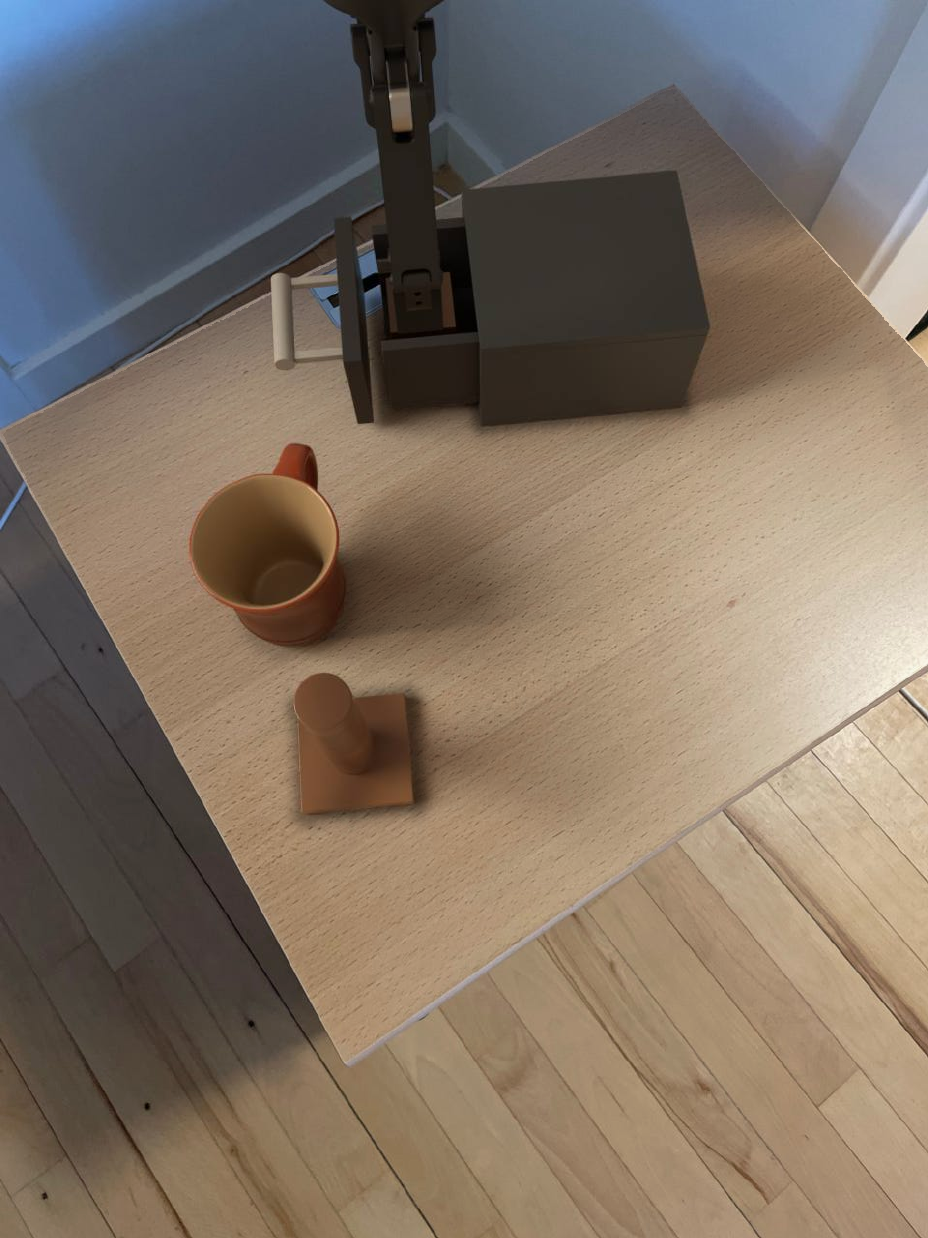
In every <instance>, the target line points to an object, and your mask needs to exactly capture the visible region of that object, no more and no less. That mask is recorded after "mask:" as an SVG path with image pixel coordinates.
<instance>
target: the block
mask: <svg viewBox="0 0 928 1238" xmlns="http://www.w3.org/2000/svg"><path fill="white" fill-rule="evenodd" d="M385 281H386V293H387V304H388V316H389V328H390V336H391V340H396V339H407V338H417V337H428V336H439V335H449V334H457V327H456V318H455V309H454V300H453V291H452V282H451V273H450V272H443V281H442V286H441V294H442V313H443V330H435V331H424V332H413V333H402V334H398V330H397V322H396V314H395V306H394V299H393V291H392V286H391V285H390V277H388V278H385Z"/></svg>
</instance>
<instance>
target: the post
mask: <svg viewBox="0 0 928 1238" xmlns="http://www.w3.org/2000/svg"><path fill="white" fill-rule="evenodd" d="M292 706H293V710H294V714H295V716H296V719H297V721H296V722H297V723H296V724H297V742H298V745H297V746H298V764H299V765H298V767H299V791H300V812H301V814H303V815H313V814H323V813H334V812H343V811H353V810H362V809H373V808H374V809H375V808H382V807H383V808H384V807H392V806H402V805H413V804H415V797H414V785H413V773H412V759H411V758H412V757H411V748H410V747H411V746H410V736H409V735H410V734H409V723H408V710H407V709H408V708H407V699H406V694H405V692H400V693H392V694H391V693H390V694H380V695H371V696H362V697H361V696H360V697H354V695H353V693H352V691H351V689H350V687H349V685H348V684H347V682H345V680H344V679H343V678H342V677H340V676H338V675H337V674H333V673H330V672H319V673H315V674H312V675H310V676H308V677H306V678H305V679H303V680H302V681H301V682H300V684H299V685H298V687H297V688H296V689H295V691H294V695H293V700H292Z"/></svg>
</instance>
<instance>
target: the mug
mask: <svg viewBox="0 0 928 1238" xmlns="http://www.w3.org/2000/svg"><path fill="white" fill-rule="evenodd" d="M318 467H319V466H318V461H317V457H316V453H315V451H314V449H313V448H312V447H311V446H310V445H309V444H305V443H299V442H290V443H288V444H287V445H285V446H284V448H283V450H282V452H281V454H280V456H279V460H278V462H277V465H276V466H275V468H274V469H273V470H272V472H271V473H255V474H251V475H248V476H245V477H243V478H239V479H237V480H235V481H233V482H231V483H229V484H227V485H226V486H224V487H222V488H221V489H220V490H219V491H217V492H216V493H215V494H213V495H212V496H211V498H210V499H208V500H207V502H206V503H205V504H204V505H203V506H202V508H201V509H200V511H199V513H198V514H197V516H196V518H195V520H194V523H193V525H192V528H191V531H190V536H189V537H190V538H189V542H188V543H189V545H188V548H189V549H188V551H189V552H188V553H189V558H190V559H189V560H190V564H191V569H192V570H193V573H194V575H195V577H196V579H197V581H198V583H199V584H200V586H201V587H202V588H203V589H204V590H205V592H206V593H208V594H209V595H210V596H211V597H212V598H213V599H215V600H216V601H217V602H219V603H221V604H222V605H225V606H226V607H228V608H231V609H232V610H233V611H234V612H235V614H236V616H237V618H238V620H239V621H240V623H241V624H242V625H243V626H244V628H245V629H247V630H248V631H249V632H250V633H251V634H253V635H254V636H255V637H257V638H259V639H260V640H262V641H264V642H266V643H269V644H271V645H275V646H278V647H283V648H296V647H297V648H298V647H303V646H307V645H310V644H313V643H315V642H317V641H319V640H320V639H322V638H324V637H325V636H326V635H327V634H328V633H329V632H331V630H332V629H333V628H334V627H335V626H336V624H337V623H338V621H339V620H340V618H341V615H342V613H343V610H344V607H345V601H346V594H347V581H346V580H347V579H346V575H345V571H344V568H343V567H342V564H341V562H340V560H339V557H338V554H339V549H340V530H339V529H340V528H339V524H338V520H337V517H336V514H335V512H334V510H333V508H332V507H331V505H330V504H329V502H328V501H327V500H326V498H325V497H324V496H323V495H322V493H320V491H319V468H318Z"/></svg>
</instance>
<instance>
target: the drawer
mask: <svg viewBox="0 0 928 1238" xmlns="http://www.w3.org/2000/svg"><path fill="white" fill-rule="evenodd" d="M436 225H437V239H438V248H439V251H440V269H441V271H443V272H450V273H451V282H452V291H453V300H454V309H455V318H456V327H457V334H449V335H439V336H428V337H417V338H407V339H396V340H391V336H390V328H389V316H388V304H387V293H386V281H385V278H388V277H390V276H391V275H390V272H388V273H378V272H377V276H378V283H379V289H380V295H381V309H382V321H383V332H384V333H383V334H384V340H381V341H380V348H381V349H380V350H381V355H382V362H383V368H384V374H385V380H386V386H387V392H388V399H389V404H390V410H391V411H398V410H399V411H400V410H409V409H419V408H430V407H439V406H452V405H461V404H462V405H463V404H473V403H478V402H480V345H479V337H478V328H477V320H476V312H475V303H474V295H473V287H472V279H471V270H470V262H469V254H468V245H467V237H466V229H465V220H464V217H462V216H461V217H450V218H440V219H436ZM370 228H371V237H372V243H373V250H374V256H375V263H376V265H377V259H385V258H388V249H389V242H388V233H387V224H386V223H384V224H373V225H371V227H370ZM333 232H334V233H333V234H334V245H335V247H334V249H335V261H336V262H335V264H336V273H332V274H331V273H330V274H320V275H309V276H297V277H291V276H290V275H289V274H287V273H283V272H277V273H274V274H273V275H272V276H271V278H270V292H271V293H270V294H271V315H272V316H271V318H272V341H273V345H272V346H273V365H274V367H275V368H276V369H277V370H280V371H291V370H292V369H294V368H295V367H296V364H307V363H317V362H319V363H320V362H329V361H339V360H342V364H343V368H344V371H345V372H344V373H345V376H346V380H347V385H348V389H349V394H350V398H351V402H352V407H353V411H354V415H355V418H356V424H357V425H366V424H374V423H375V414H374V412H375V411H374V401H373V399H374V398H373V388H372V377H371V376H372V375H371V362H370V348H369V336H368V334H369V333H368V322H367V310H366V297H365V287H364V282H363V276H362V270H361V265H360V259H359V254H358V248H357V243H356V242H357V241H356V236H355V231H354V226H353V219H352V217H351V216H346V217H345V216H344V217H336V218H333ZM329 287H337V292H338V308H339V320H340V321H339V324H340V335H341V337H340V338H341V347H328V348H319V349H317V348H316V349H307V350H295V330H294V329H295V328H294V309H293V308H294V307H293V291H296V290H306V289H308V290H309V289H318V288H329Z"/></svg>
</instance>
